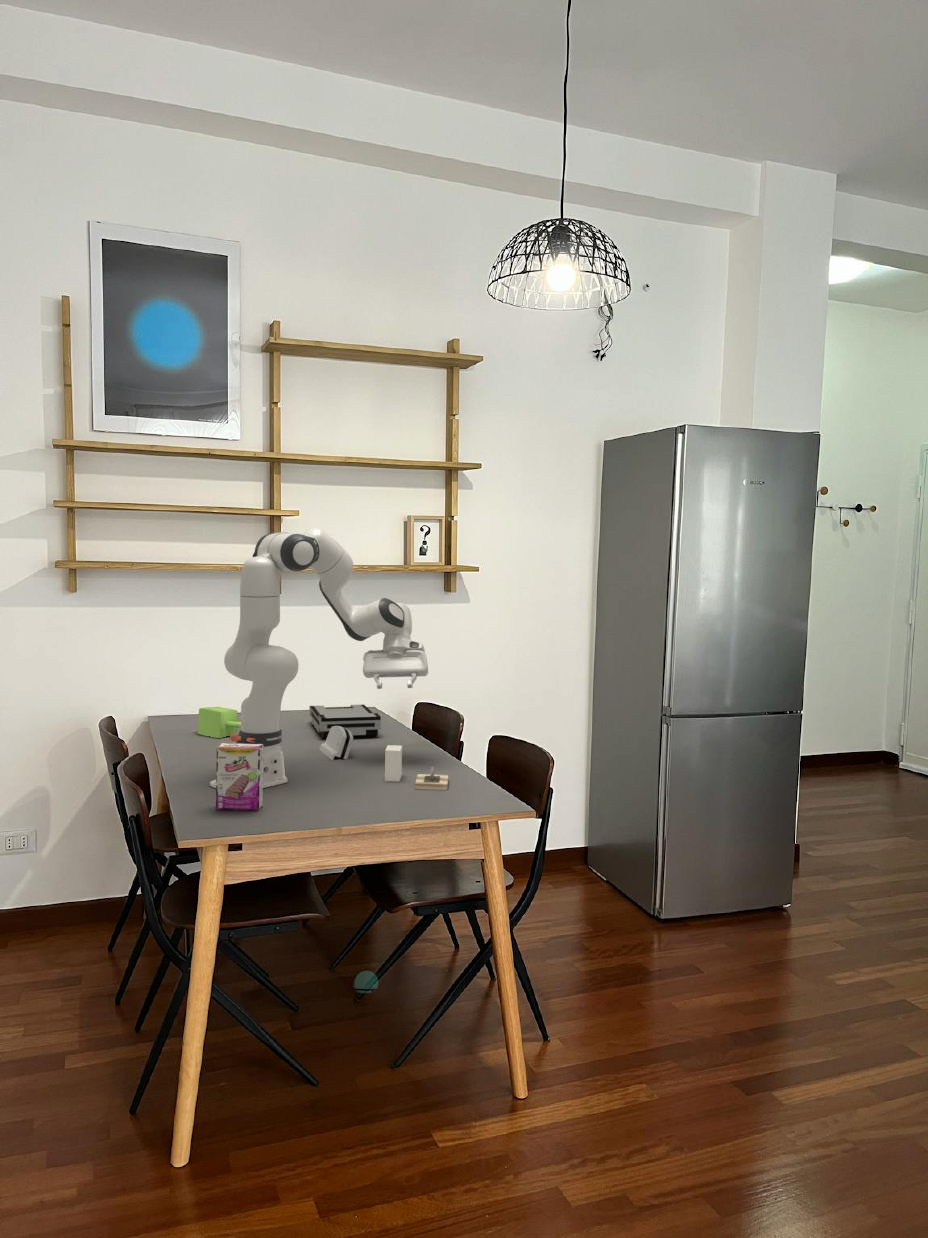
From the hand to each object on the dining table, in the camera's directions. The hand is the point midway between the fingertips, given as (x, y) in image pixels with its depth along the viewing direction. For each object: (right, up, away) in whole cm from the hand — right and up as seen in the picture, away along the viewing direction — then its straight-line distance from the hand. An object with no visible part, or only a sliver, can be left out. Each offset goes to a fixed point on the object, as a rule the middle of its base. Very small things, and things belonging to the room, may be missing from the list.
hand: (394, 687), depth 285 cm
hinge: (-20, -23, +17) cm, 35 cm away
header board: (+12, -26, -19) cm, 35 cm away
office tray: (-23, -20, +55) cm, 63 cm away
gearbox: (-64, -20, +42) cm, 79 cm away
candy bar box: (-36, -28, -46) cm, 65 cm away
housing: (+1, -26, -13) cm, 29 cm away
